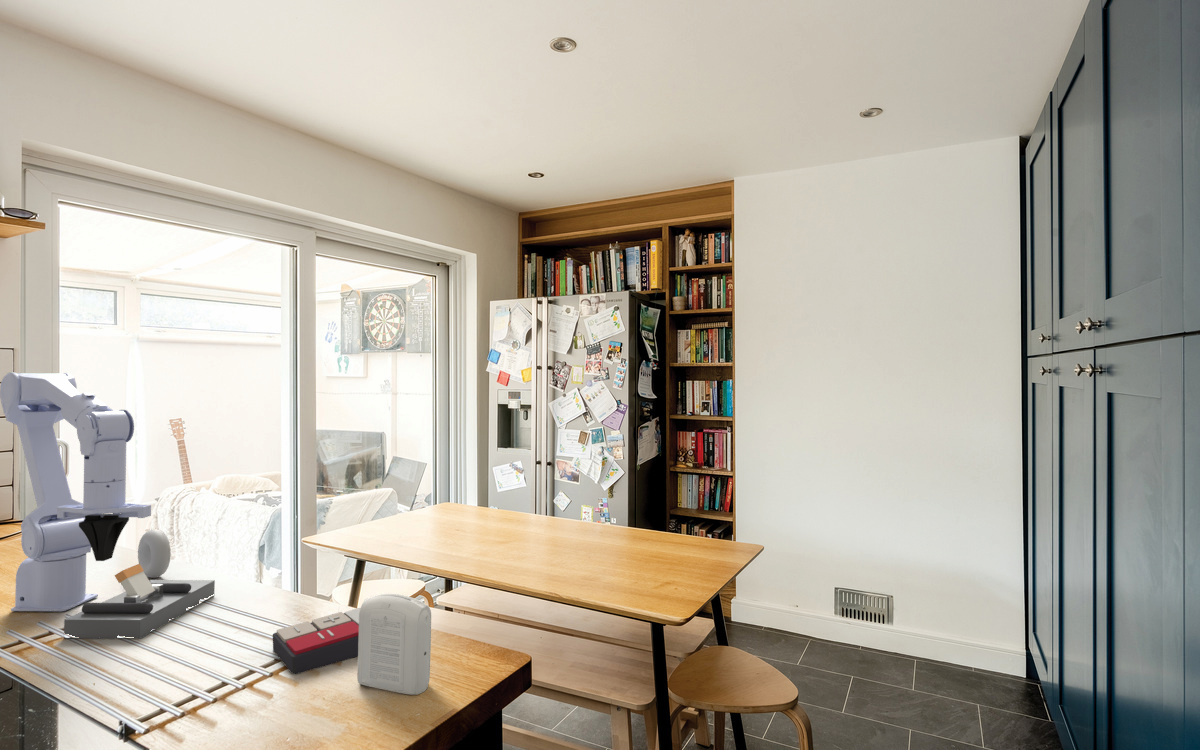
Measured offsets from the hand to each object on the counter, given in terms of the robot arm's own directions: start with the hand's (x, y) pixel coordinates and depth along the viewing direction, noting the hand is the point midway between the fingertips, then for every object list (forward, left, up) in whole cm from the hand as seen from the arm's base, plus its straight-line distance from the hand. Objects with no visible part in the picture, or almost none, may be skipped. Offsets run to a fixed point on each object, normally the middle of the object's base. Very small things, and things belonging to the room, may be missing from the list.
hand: (103, 559), depth 108 cm
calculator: (+44, -11, -11) cm, 47 cm away
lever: (+7, 0, -6) cm, 9 cm away
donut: (-7, +23, -11) cm, 26 cm away
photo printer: (+57, -23, -11) cm, 62 cm away
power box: (+6, +2, -10) cm, 12 cm away
